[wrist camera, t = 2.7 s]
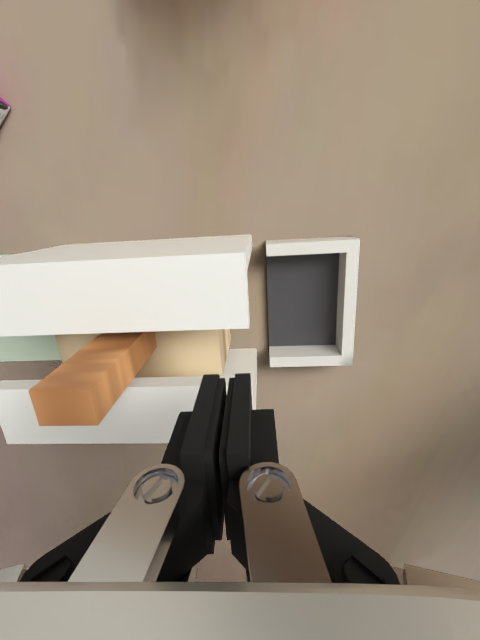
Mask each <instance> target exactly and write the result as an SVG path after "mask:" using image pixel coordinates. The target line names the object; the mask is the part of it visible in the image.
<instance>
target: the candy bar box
mask: <svg viewBox="0 0 480 640" xmlns="http://www.w3.org/2000/svg"><path fill="white" fill-rule="evenodd" d="M9 110H10V105H9V104H8V103H6V102H5V101H4V100H3V99H2V98H0V128H1V126H2V124H3V122H4V121H5V119H6V116H7V114H8V112H9Z"/></svg>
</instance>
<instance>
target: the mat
mask: <svg viewBox="0 0 480 640" xmlns="http://www.w3.org/2000/svg"><path fill="white" fill-rule="evenodd" d="M9 255H14V254H8V255H0V257H4V256H9ZM45 360H61V357H60V353H59V349H58V345H57V342H56V338H55V335H32V336H2V337H0V362H7V361H45Z"/></svg>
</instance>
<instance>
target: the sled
mask: <svg viewBox="0 0 480 640" xmlns="http://www.w3.org/2000/svg"><path fill="white" fill-rule="evenodd" d="M55 338H56V342H57V345H58V349H59V353H60V357H61V361H62V364H61V365H60V366H59V367H58V368H56V369H55V370H54V371H52V372H51V373H50V374H49V375H47V376H46V377H45V378H44V379H42V380H41V381H40V382H38V383H37V384H36V385H35V386H33V387H32V388H31V389H29V390H28V391H29V395H30V398H31V401H32V404H33V407H34V411H35V414H36V417H37V420H38V424H39V426H98V425H99V424H100V422H101V421H102V420H103V418H104V417H105V416H106V414H107V413H108V412H109V410H110V409H111V408H112V406H113V405H114V404H115V402H116V401H117V400H118V398H119V397H120V396H121V394H122V393H123V392H124V390H125V389H126V388H127V386H128V385H129V384H130V382H131V381H132V380H133V378H139V377H186V376H203V375H206V374H219V376H223V372H224V368H225V364H226V359H227V355H228V351H229V346H230V342H231V336H230V329H215V330H184V331H154V332H123V333H93V334H63V335H55Z"/></svg>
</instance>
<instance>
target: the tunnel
mask: <svg viewBox="0 0 480 640" xmlns="http://www.w3.org/2000/svg"><path fill="white" fill-rule="evenodd" d="M251 251H252V234H247V235H229V236H211V237H193V238H175V239H157V240H139V241H121V242H103V243H85V244H67V245H62V246H56V247H51V248H46V249H41V250H35V251H30V252H25V253H20V254H14V255H9V256H4V257H0V337H2V336H32V335H63V334H93V333H123V332H154V331H184V330H215V329H245V328H249V323H250V318H249V299H248V279H247V269H248V265H249V260H250V256H251ZM236 373H250V375H251V392H252V410H256V387H257V348H247V349H229V351H228V355H227V359H226V364H225V368H224V372H223V376H220V378H225V381H226V393H227V391H228V384H229V378H235V374H236ZM202 378H203V376H186V377H139V378H133V380H132V381H131V382H130V384H129V385H128V386H127V388H126V389H125V390H124V392H123V393H122V394H121V396H120V397H119V398H118V400H117V401H116V402H115V404H114V405H113V406H112V408H111V409H110V410H109V412H108V413H107V414H106V416H105V417H104V418H103V420H102V421H101V422H100V424H99V425H98V426H39V424H38V420H37V417H36V414H35V411H34V407H33V404H32V401H31V398H30V395H29V391H28V390H29V389H31V388H32V387H33V386H35V385H36V384H37V383H38V382H40V381H41V380H2V381H1V382H0V425H1V428H2V430H3V433H4V436H5V439H6V442H7V444H113V443H169V440H170V438H171V435H172V432H173V429H174V426H175V424H176V421H177V418H178V415H179V413H180V412H186V411H193V408H194V404H195V401H196V398H197V394H198V391H199V388H200V384H201V381H202Z"/></svg>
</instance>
